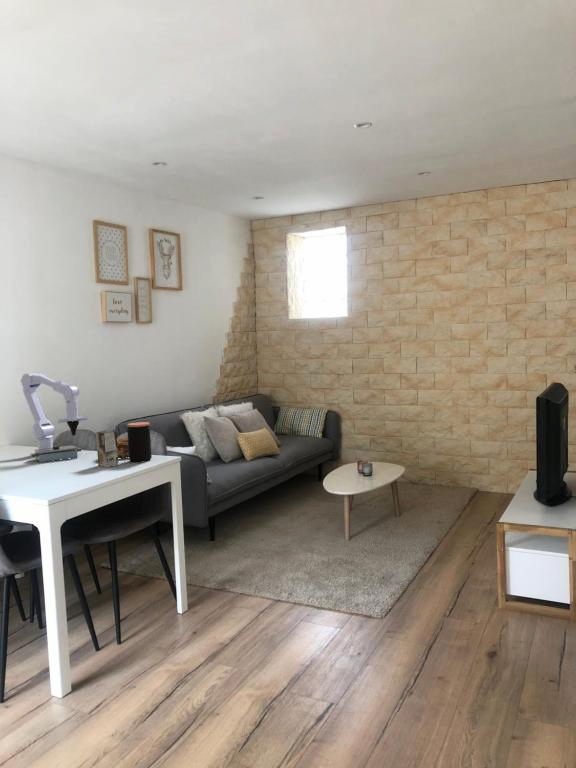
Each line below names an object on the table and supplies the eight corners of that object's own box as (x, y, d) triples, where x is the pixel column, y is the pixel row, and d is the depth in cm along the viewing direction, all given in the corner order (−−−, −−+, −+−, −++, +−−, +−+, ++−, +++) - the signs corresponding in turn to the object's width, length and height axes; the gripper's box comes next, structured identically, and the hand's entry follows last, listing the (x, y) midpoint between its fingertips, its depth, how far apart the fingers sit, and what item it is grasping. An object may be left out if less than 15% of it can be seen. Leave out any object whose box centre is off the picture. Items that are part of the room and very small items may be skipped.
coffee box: (119, 465, 294) (117, 431, 293) (106, 467, 290) (103, 432, 289) (110, 463, 301) (108, 429, 300) (97, 465, 297) (95, 431, 296)
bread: (107, 461, 308) (106, 441, 307) (102, 458, 317) (100, 438, 316) (145, 456, 317) (143, 436, 317) (138, 453, 327) (137, 434, 326)
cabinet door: (34, 451, 323) (33, 447, 323) (71, 446, 333) (71, 443, 332) (38, 453, 310) (38, 449, 310) (77, 449, 320) (77, 445, 320)
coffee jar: (154, 458, 310) (152, 421, 309) (147, 462, 299) (145, 424, 298) (133, 458, 311) (131, 422, 310) (125, 462, 300) (123, 425, 299)
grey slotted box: (29, 459, 322) (28, 452, 322) (77, 453, 334) (77, 446, 334) (33, 463, 310) (33, 455, 309) (83, 457, 322) (83, 449, 321)
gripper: (59, 411, 322) (60, 437, 322) (88, 408, 329) (89, 434, 330) (56, 410, 328) (58, 436, 329) (85, 407, 335) (86, 433, 336)
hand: (73, 435), depth 330 cm, fingers closed
